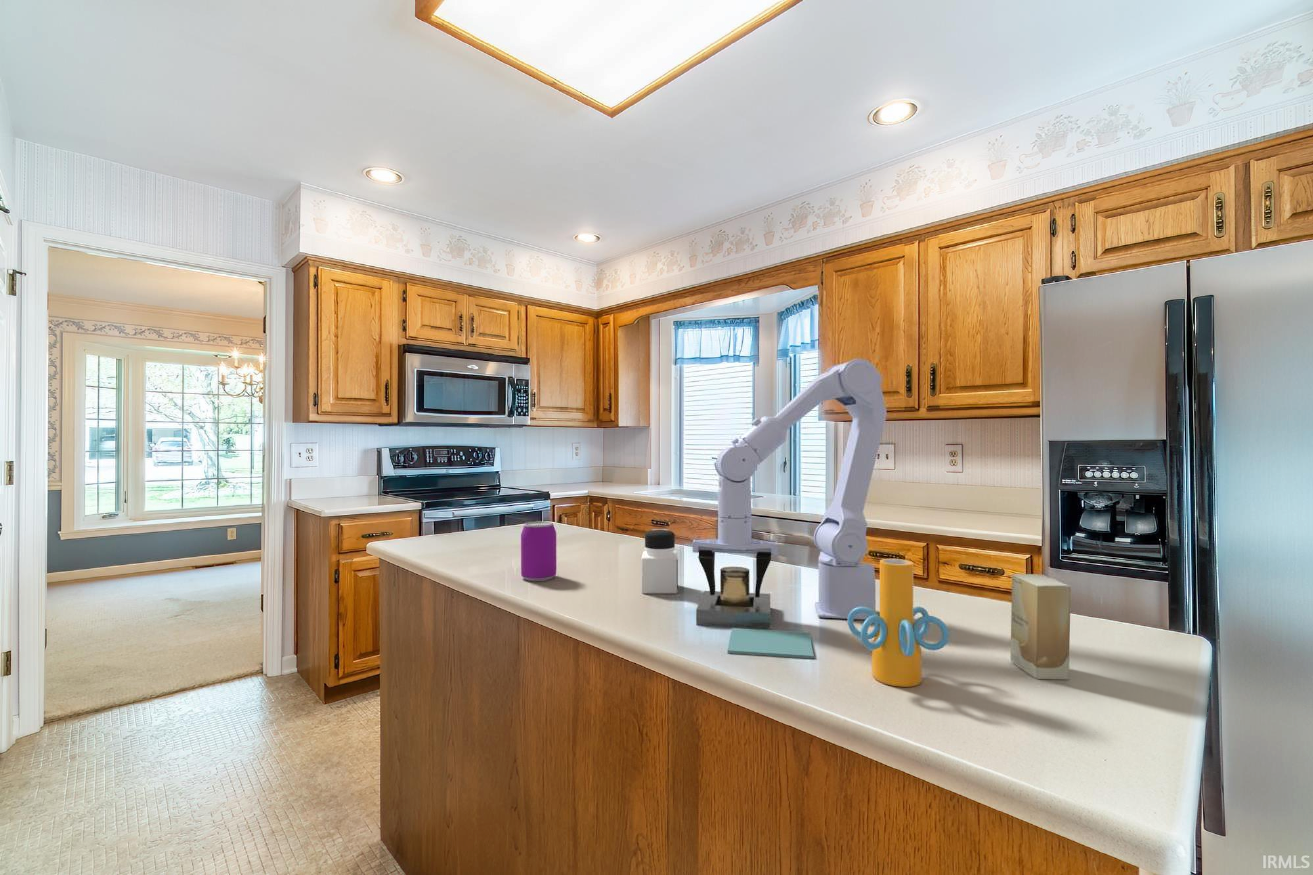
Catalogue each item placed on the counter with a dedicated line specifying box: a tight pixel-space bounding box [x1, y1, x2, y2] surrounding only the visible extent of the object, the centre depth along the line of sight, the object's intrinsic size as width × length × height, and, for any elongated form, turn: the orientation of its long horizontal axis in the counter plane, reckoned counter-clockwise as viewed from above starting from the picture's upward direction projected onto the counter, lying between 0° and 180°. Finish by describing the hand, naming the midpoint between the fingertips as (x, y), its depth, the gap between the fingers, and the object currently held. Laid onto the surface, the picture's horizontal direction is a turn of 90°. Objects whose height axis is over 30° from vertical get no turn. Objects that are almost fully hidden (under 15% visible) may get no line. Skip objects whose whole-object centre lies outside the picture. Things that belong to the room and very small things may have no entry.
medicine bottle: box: [641, 528, 679, 595], centre depth 121 cm, size 7×7×12 cm
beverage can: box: [520, 520, 557, 582], centre depth 131 cm, size 8×8×12 cm
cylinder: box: [847, 558, 950, 688], centre depth 77 cm, size 12×10×15 cm
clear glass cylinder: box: [719, 566, 751, 607], centre depth 104 cm, size 5×5×8 cm
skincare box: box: [1010, 573, 1072, 680], centre depth 79 cm, size 6×4×12 cm
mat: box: [727, 627, 815, 660], centre depth 90 cm, size 12×10×1 cm
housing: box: [695, 590, 771, 630], centre depth 104 cm, size 12×12×2 cm
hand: (734, 594), depth 104 cm, fingers open, 7 cm apart
